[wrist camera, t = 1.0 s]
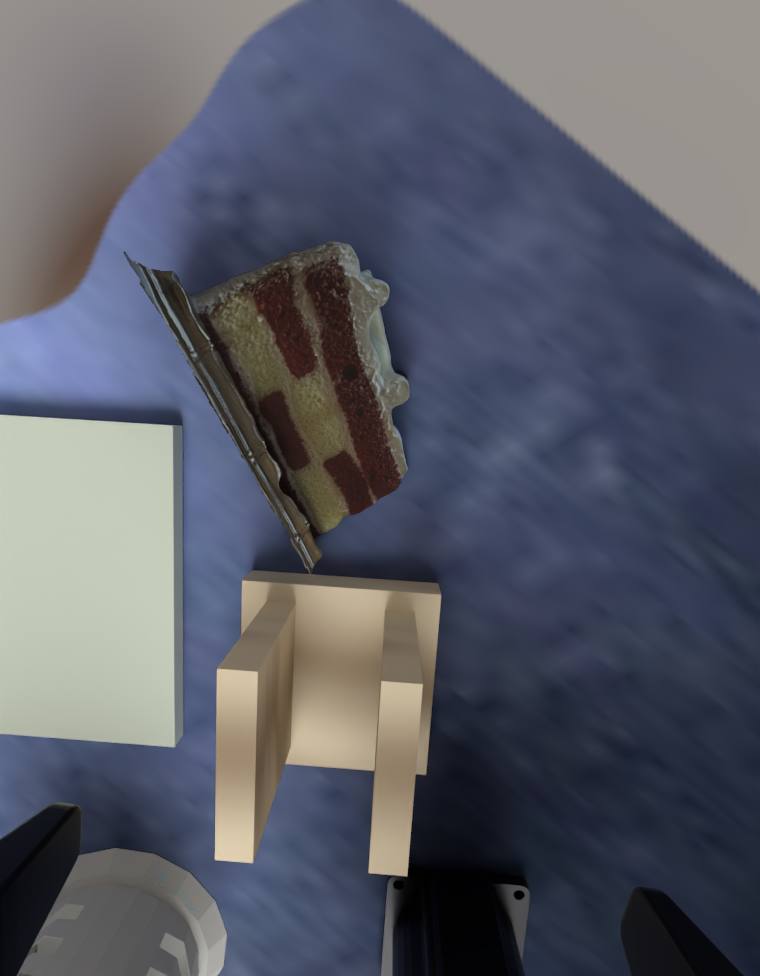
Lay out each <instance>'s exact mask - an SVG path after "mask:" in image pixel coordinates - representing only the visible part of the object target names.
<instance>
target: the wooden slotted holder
mask: <svg viewBox="0 0 760 976" xmlns="http://www.w3.org/2000/svg"><path fill="white" fill-rule="evenodd" d="M440 605H441V591H440V588H439V584H438V583H428V582H414V581H400V580H385V579H371V578H357V577H343V576H328V575H314V574H312V575H310V574H300V573H286V572H271V571H257V570H252V571H251V572H250V573H249V574H248V575H247V576H246V577H245V578H244V579H243V580H242V617H241V637H240V638H239V639H238V641H237V642H236V643H235V645H234V646H233V647H232V649H231V650H230V652H229V653H228V654H227V656H226V657H225V658H224V660H223V661H222V663H221V664H220V665H219V667H218V668H217V715H216V806H215V860H221V861H233V862H245V863H253V862H254V859H255V856H256V853H257V850H258V846H259V843H260V840H261V837H262V834H263V831H264V828H265V825H266V822H267V819H268V815H269V812H270V809H271V806H272V803H273V800H274V797H275V794H276V791H277V788H278V785H279V781H280V778H281V775H282V772H283V769H284V766H285V764H294V765H306V766H319V767H331V768H344V769H356V770H368V771H374V786H373V803H372V821H371V839H370V856H369V873H373V874H385V875H397V876H407V874H408V862H409V850H410V838H411V825H412V813H413V801H414V789H415V776H416V774H418V775H426V770H427V758H428V746H429V734H430V723H431V711H432V699H433V687H434V676H435V664H436V652H437V640H438V629H439V617H440Z"/></svg>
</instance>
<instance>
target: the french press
mask: <svg viewBox="0 0 760 976" xmlns="http://www.w3.org/2000/svg"><path fill="white" fill-rule="evenodd" d="M226 938H227V932H226V930H225V927H224V924H223V921H222V918H221V915H220V913H219V910H218V907H217V904H216V901H215V900H214V899H213V898H212V897H211V895H210V894H209V893H208V892H207V891H206V890H205V889H204V888H203V887H202V885H201V884H200V883H199V882H198V881H197V880H196V879H195V878H194V877H193V875H192V874H191V873H190V872H188V871H186V870H184V869H182V868H180V867H178V866H177V865H175V864H173V863H171V862H169V861H167V860H165V859H163V858H161V857H160V856H158V855H156V854H152V853H146V852H139V851H133V850H126V849H120V848H112V849H107V850H102V851H97V852H92V853H88V854H83V855H79V856H78V858H77V861H76V863H75V865H74V867H73V869H72V871H71V873H70V875H69V877H68V879H67V880H66V882H65V884H64V886H63V888H62V890H61V892H60V894H59V896H58V898H57V900H56V902H55V903H54V905H53V907H52V909H51V911H50V913H49V915H48V917H47V919H46V921H45V923H44V925H43V927H42V928H41V930H40V932H39V934H38V936H37V938H36V940H35V942H34V944H33V946H32V948H31V950H30V951H29V953H28V955H27V957H26V959H25V961H24V963H23V965H22V967H21V969H20V971H19V973H18V975H17V976H217V975H218V974H219V972H220V971H221V969H222V967H223V966H224V956H225V947H226Z"/></svg>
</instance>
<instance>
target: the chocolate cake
mask: <svg viewBox="0 0 760 976" xmlns="http://www.w3.org/2000/svg"><path fill="white" fill-rule="evenodd" d="M124 254H125V256H126V258H127V260H128V262H129V263H130V265H131V267H132V268H133V269H134V271H135V272H136V274H137V275H138V276H139V278H140V285H141V286H142V287H143V289H144V290H145V292H146V294H147V295H148V297H149V298H150V300H151V301H152V302H153V304H154V305H155V307H156V308H157V310H158V311H159V313H160V314H161V315H162V317H163V318H164V319H165V320H164V322H165V323H166V324H167V326H168V327H169V329H170V331H171V332H172V334H173V335H174V337H175V339H176V341H177V343H178V344H177V346H178V347H180V348H181V350H182V352H183V354H184V355H185V357H186V359H187V362H188V363H189V365H190V366H191V367H192V369H193V370H194V372H193V373H192V374H193V375H194V377H195V378H196V380H197V381H198V383H199V385H200V386H201V388H202V390H203V391H204V392H205V394H206V396H207V398H208V399H209V403H210V404H211V406H212V407H213V408H214V411H215V412H216V413H217V415H218V417H219V418H220V421H221V422H222V425H223V427H224V428H225V429H226V431H227V433H230V435H231V437H232V439H233V441H234V443H235V445H236V446H237V448H238V450H239V451H240V453H241V456H242V458H243V459H245V461H246V462H247V464H248V466H249V468H250V469H251V472H252V473H253V474H254V476H255V478H256V480H257V482H258V484H259V486H260V488H261V491H262V493H263V494H264V495H265V497H266V499H267V501H268V502H269V504H270V507H271V508H272V510H273V511H274V512H275V513H276V514H278V517H279V519H280V520H281V522H282V524H283V525H284V527H285V529H286V531H287V533H288V534H289V535H290V536H291V537H290V538H289V539H290V541H291V544H292V546H293V547H294V548H295V550H296V552H297V553H298V554H299V555H300V557H301V558H302V560H303V563H304V566H305V569H306V567H307V569H308V570H309V574H310V575H312V571H313V567H314V564H315V563H316V562H317V561H318V560H319V559H320V558H321V557H322V556H323V554H322V550H321V548H320V547H319V545H318V543H317V541H316V537H318V536H319V535H320V534H322V533H325V532H328V531H329V530H330V529H333V528H335V527H336V526H338V525H339V523H340V522H341V520H342V518H344V517H345V516H347V515H354V514H357V513H360V512H361V511H363V510H364V509H365V508H367V507H370V506H372V505H374V504H375V502H376V501H377V500H378V499H380V498H381V497H383V496H385V495H388V494H389V493H391V492H393V491H395V490H396V489H397V488H398V486H399V485H400V484H401V482H402V478H403V475H404V474H405V473H406V472H407V470H408V468H407V465H406V459H405V456H404V452H403V445H402V439H401V436H400V433H399V431H398V430H397V428H396V427H395V426H394V425H393V421H392V415H391V413H392V409H393V408H394V407H396V406H397V405H401V404H403V403H404V402H405V401H406V400H407V399H408V398H409V396H410V391H409V383H408V381H407V377H406V375H405V374H404V373H403V372H401V371H397V370H395V371H394V370H393V368H392V366H391V355H390V350H389V346H388V342H387V339H386V335H385V328H384V324H383V320H382V315H381V310H380V307H381V306H383V305H384V304H385V303H386V301H387V300H388V297H389V291H390V290H389V286H388V284H387V283H386V282H384V281H382V280H379V279H375V278H373V277H372V274H371V272H370V270H365V271H361V272H360V266H359V261H358V258H357V256H356V254H355V252H354V250H353V248H352V247H351V246H350V245H349V244H345V243H343V244H342V243H340V242H335V241H331V242H328V243H324V244H321V245H319V246H315V247H312V248H308V249H305V250H302V251H300V252H298V253H290V254H288V255H287V256H285V257H283V258H281V259H278V260H275V261H273V262H271V263H269V264H267V265H265V266H263V267H260V268H258V269H255V270H253V271H249V272H245V273H243V274H241V275H238V276H235V277H233V278H231V279H230V280H227V281H225V282H222V283H220V284H218V285H216V286H215V287H212V288H210V289H207V290H203V291H201V292H199V293H197V294H194V295H189V294H188V293H186V291H185V290H184V289H183V287H182V285H181V284H180V281H179V278H178V277H177V275H176V274H175V273H174V272H173V271H160V270H154V269H149V268H147V267H145V266H142V265H141V264H140V263H137V262H135V261H134V262H135V263H134V262H133V261H132V260H131V259H130V258H129V257H128V255H127V254H126V253H125V252H124Z"/></svg>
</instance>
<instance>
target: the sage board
mask: <svg viewBox="0 0 760 976" xmlns="http://www.w3.org/2000/svg"><path fill="white" fill-rule="evenodd" d="M0 734H10V735H23V736H36V737H48V738H61V739H74V740H87V741H100V742H113V743H125V744H138V745H151V746H164V747H175V746H176V745H177V743H178V742H179V740H180V739H181V737H182V736H183V426H180V425H164V424H148V423H132V422H116V421H99V420H83V419H67V418H51V417H35V416H19V415H2V414H0Z"/></svg>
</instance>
